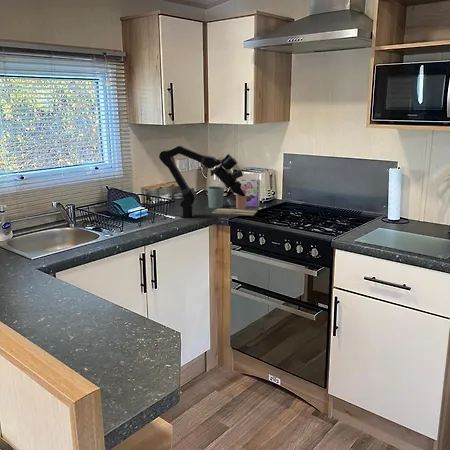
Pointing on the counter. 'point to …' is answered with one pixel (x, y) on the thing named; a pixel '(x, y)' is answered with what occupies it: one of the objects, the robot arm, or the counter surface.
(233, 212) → the board
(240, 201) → the painted block
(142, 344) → the counter surface
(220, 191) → the teal cup
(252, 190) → the candy box
